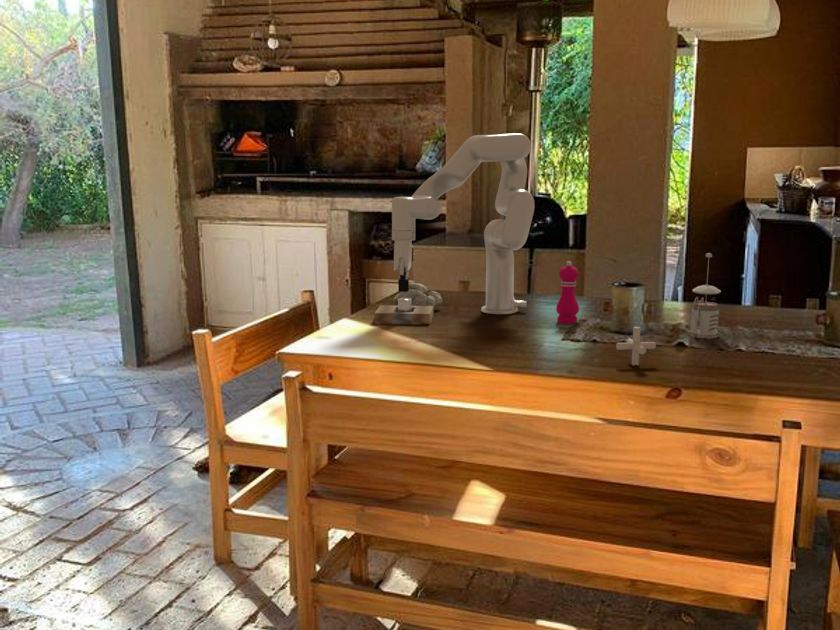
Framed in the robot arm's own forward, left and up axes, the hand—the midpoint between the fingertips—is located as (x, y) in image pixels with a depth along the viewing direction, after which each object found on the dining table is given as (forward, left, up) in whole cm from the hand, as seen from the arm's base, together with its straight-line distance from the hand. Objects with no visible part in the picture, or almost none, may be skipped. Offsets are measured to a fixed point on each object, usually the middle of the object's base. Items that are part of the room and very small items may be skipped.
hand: (403, 291), depth 271 cm
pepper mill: (-53, -1, -10) cm, 54 cm away
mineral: (-3, -19, -10) cm, 22 cm away
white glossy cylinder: (0, 0, -10) cm, 10 cm away
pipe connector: (-67, +50, -10) cm, 85 cm away
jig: (0, 0, -10) cm, 10 cm away
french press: (-92, +15, -10) cm, 94 cm away
